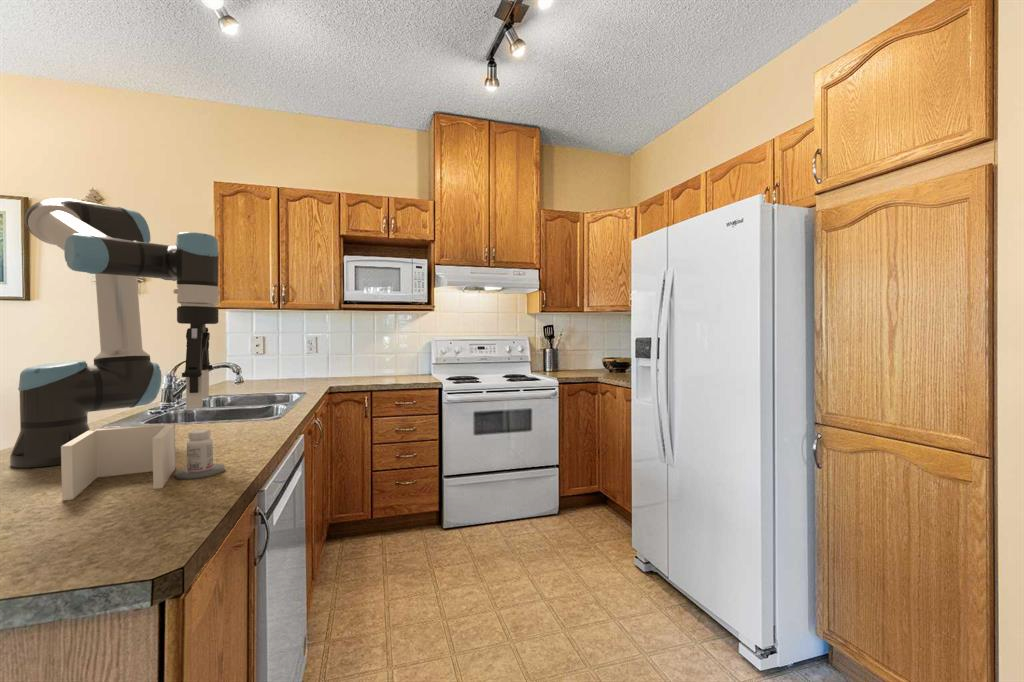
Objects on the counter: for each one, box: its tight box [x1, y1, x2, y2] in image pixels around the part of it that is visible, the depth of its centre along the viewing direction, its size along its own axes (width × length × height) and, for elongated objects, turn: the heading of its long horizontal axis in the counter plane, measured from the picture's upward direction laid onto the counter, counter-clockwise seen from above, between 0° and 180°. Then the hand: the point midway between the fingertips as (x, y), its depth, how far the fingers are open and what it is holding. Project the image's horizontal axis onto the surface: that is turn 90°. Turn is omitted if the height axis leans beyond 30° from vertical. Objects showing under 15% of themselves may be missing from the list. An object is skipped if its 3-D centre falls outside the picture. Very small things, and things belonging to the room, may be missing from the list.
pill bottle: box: [186, 428, 214, 472], centre depth 103 cm, size 5×5×8 cm
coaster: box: [174, 463, 225, 481], centre depth 103 cm, size 9×9×1 cm
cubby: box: [60, 423, 177, 502], centre depth 97 cm, size 16×15×10 cm
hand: (198, 403), depth 103 cm, fingers open, 13 cm apart
